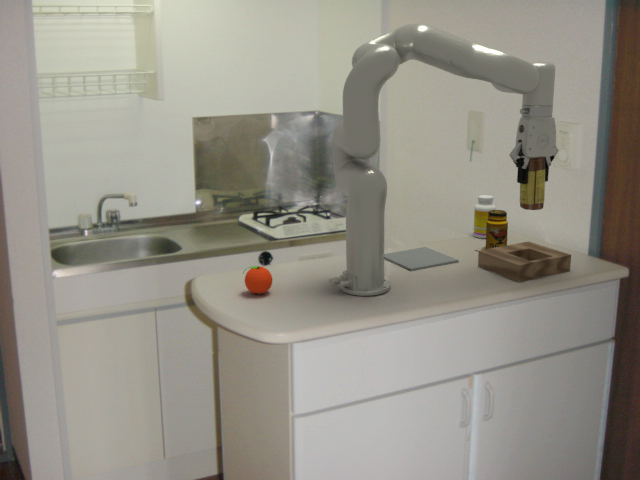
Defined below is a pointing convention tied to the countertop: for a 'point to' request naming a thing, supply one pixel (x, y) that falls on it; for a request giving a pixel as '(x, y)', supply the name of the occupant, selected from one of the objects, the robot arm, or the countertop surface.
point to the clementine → (258, 279)
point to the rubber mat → (419, 258)
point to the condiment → (496, 229)
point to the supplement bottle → (482, 214)
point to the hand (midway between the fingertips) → (532, 181)
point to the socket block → (524, 261)
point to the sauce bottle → (534, 185)
